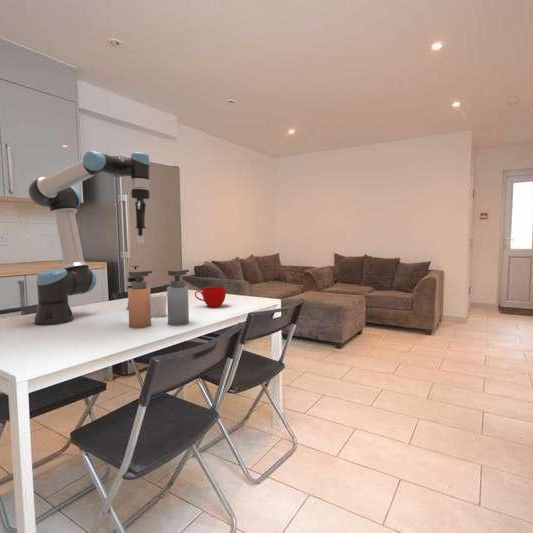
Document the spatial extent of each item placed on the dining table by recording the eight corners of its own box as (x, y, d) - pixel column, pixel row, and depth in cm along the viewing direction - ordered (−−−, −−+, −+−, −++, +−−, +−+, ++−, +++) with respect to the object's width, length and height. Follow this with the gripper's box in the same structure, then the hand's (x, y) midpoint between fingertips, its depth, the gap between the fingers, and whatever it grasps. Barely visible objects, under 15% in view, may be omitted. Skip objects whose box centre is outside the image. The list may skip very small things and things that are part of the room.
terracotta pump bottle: (138, 328, 148) (136, 283, 147) (124, 326, 153) (123, 282, 151) (155, 324, 155) (154, 281, 154) (142, 322, 160) (141, 280, 159)
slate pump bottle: (177, 326, 152) (176, 282, 151) (163, 323, 157) (162, 280, 156) (193, 322, 160) (192, 279, 158) (178, 319, 165) (178, 278, 163)
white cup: (148, 314, 176) (148, 294, 175) (165, 313, 180) (164, 293, 179) (151, 317, 169) (150, 296, 168) (168, 316, 173) (167, 295, 172)
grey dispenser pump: (136, 289, 149) (135, 272, 149) (129, 288, 151) (128, 271, 151) (154, 286, 157) (154, 270, 157) (148, 285, 160) (147, 270, 159)
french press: (122, 308, 191) (121, 266, 189) (136, 306, 199) (135, 264, 198) (138, 310, 186) (137, 266, 184) (151, 307, 194) (150, 265, 192)
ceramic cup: (195, 305, 202) (194, 287, 201) (225, 303, 205) (225, 286, 204) (194, 309, 189) (194, 290, 188) (226, 308, 192) (226, 289, 192)
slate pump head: (175, 287, 153) (175, 271, 153) (168, 286, 156) (168, 270, 155) (191, 284, 161) (191, 269, 161) (184, 284, 164) (184, 269, 163)
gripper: (147, 188, 152) (147, 243, 154) (150, 191, 164) (151, 242, 166) (129, 187, 150) (129, 243, 152) (133, 190, 163) (134, 242, 165)
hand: (140, 243), depth 159 cm, fingers closed
